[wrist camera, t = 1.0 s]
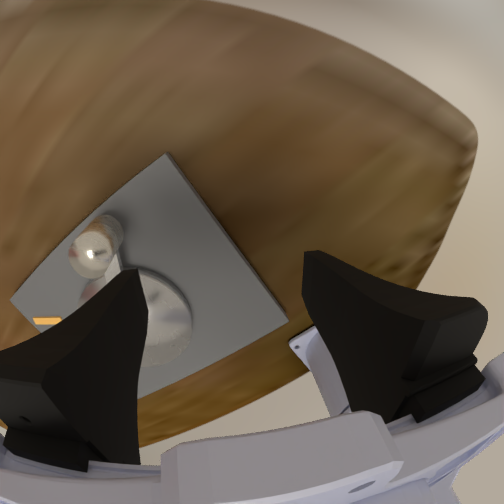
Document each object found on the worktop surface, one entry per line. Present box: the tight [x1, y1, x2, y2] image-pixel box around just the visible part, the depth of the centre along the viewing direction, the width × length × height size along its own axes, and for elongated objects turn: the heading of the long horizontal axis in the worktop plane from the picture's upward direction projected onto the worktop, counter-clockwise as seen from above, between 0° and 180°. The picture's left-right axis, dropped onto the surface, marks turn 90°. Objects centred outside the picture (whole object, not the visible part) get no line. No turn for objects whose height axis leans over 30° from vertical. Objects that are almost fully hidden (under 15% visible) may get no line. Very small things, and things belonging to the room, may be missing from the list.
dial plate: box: [10, 152, 289, 399], centre depth 21 cm, size 16×19×1 cm
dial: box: [68, 215, 192, 367], centre depth 18 cm, size 13×9×5 cm
